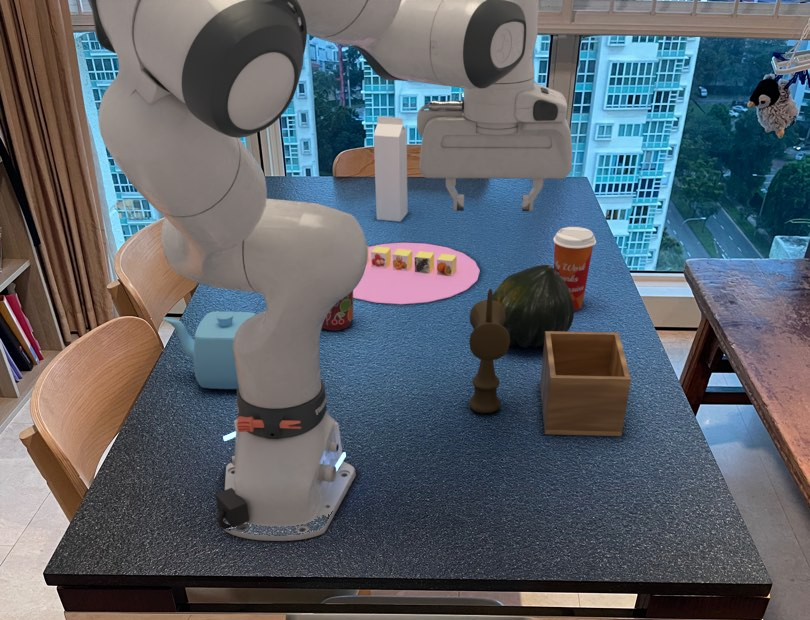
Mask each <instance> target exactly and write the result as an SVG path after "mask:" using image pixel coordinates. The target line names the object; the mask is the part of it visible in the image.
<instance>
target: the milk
mask: <svg viewBox="0 0 810 620" xmlns="http://www.w3.org/2000/svg"><path fill="white" fill-rule="evenodd" d="M403 121H404V120H403V117H395V116H379V115H378V116H377V118H376V127H375V130H374V133H373V155H374V156H373V157H374V184H375V185H374V186H375V206H376V207H375V215H376V220H377V221H386V222H387V221H388V222H397V223H398V222H399V223H400V222H402V221H403V220H404V218H405V217H406V216H407V215H408V212H409V211H408V144H407V143H408V141H407V138H408V137H407V136H408V135H407V131H408V130H407V128H406V127H405V126H404V122H403Z"/></svg>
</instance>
